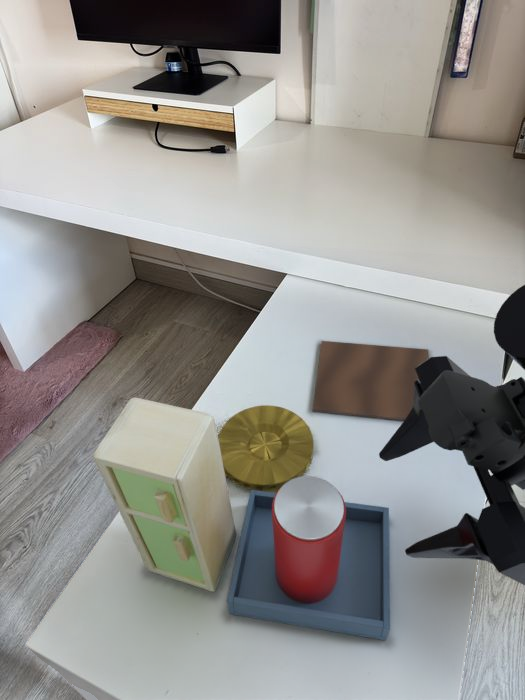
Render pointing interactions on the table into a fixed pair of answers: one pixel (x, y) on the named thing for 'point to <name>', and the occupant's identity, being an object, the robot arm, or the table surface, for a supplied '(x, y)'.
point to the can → (307, 537)
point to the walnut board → (367, 379)
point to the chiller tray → (352, 582)
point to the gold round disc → (265, 447)
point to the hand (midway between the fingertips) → (394, 502)
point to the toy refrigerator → (170, 489)
